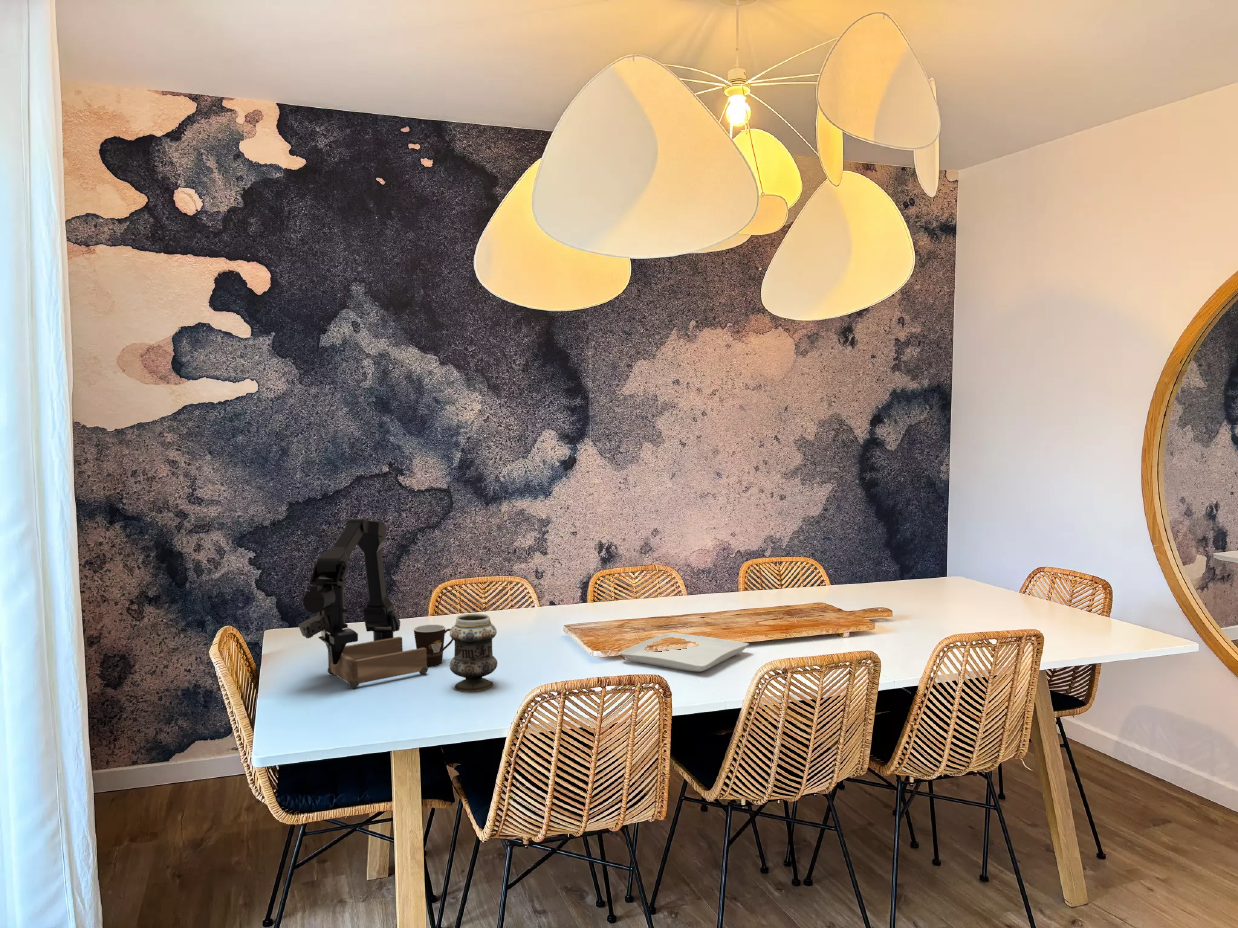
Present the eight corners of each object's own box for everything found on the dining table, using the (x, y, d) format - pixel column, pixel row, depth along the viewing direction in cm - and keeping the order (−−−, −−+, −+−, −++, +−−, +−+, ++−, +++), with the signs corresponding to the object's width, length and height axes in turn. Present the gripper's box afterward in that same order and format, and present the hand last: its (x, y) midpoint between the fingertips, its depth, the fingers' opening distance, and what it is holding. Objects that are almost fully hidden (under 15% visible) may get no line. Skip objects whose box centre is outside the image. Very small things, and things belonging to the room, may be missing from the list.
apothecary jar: (507, 685, 235) (505, 616, 234) (468, 696, 226) (466, 624, 225) (479, 676, 243) (477, 609, 242) (440, 686, 235) (438, 616, 234)
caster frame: (326, 674, 247) (325, 648, 247) (401, 659, 260) (400, 635, 260) (351, 689, 233) (350, 663, 233) (429, 674, 246) (428, 648, 245)
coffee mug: (415, 669, 251) (414, 633, 250) (413, 660, 259) (412, 625, 259) (458, 665, 254) (457, 629, 254) (455, 657, 262) (454, 622, 262)
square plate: (750, 655, 261) (750, 641, 261) (703, 679, 239) (703, 664, 239) (668, 642, 277) (668, 629, 276) (617, 664, 254) (617, 650, 254)
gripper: (289, 603, 241) (292, 661, 242) (313, 615, 226) (316, 677, 227) (331, 597, 248) (333, 654, 249) (357, 608, 233) (359, 669, 234)
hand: (334, 663), depth 239 cm, fingers closed, pressing on caster frame
